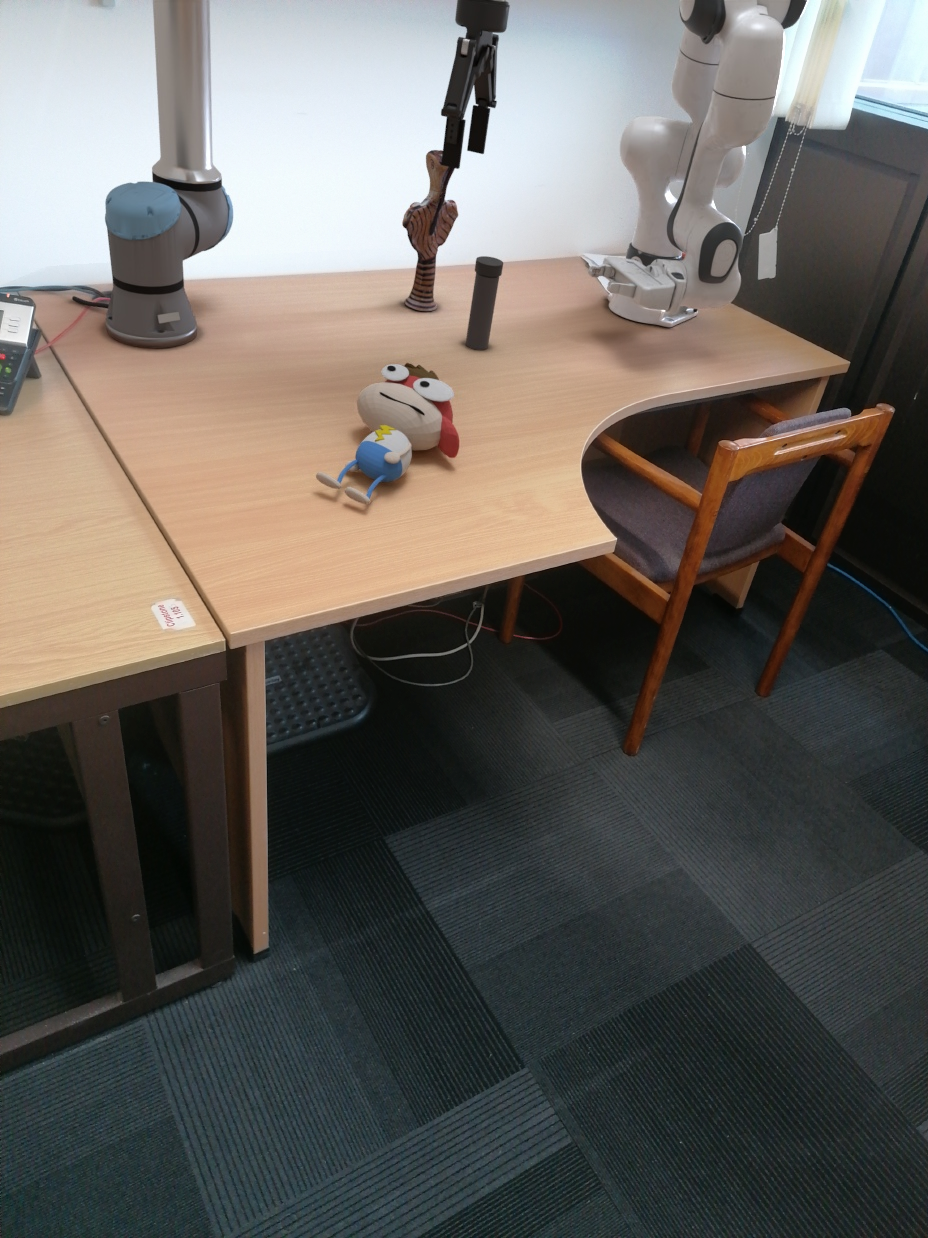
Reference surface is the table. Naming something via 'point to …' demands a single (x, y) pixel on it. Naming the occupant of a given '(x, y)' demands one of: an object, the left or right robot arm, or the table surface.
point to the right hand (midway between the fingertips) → (599, 278)
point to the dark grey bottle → (481, 312)
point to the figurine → (429, 230)
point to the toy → (399, 425)
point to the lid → (488, 266)
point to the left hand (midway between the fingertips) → (463, 159)
